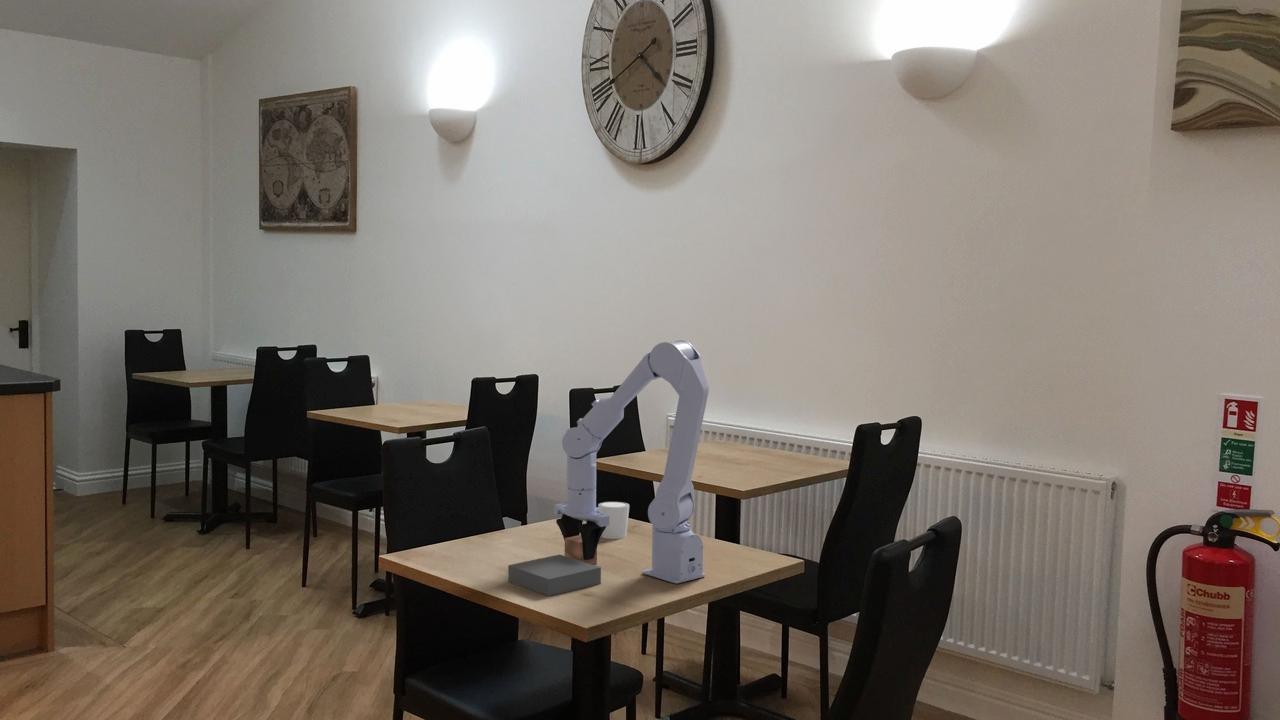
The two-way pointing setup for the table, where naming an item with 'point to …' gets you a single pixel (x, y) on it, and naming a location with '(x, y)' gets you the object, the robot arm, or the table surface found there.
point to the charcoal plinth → (554, 574)
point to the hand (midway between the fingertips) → (580, 556)
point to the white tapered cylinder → (615, 519)
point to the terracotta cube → (577, 549)
